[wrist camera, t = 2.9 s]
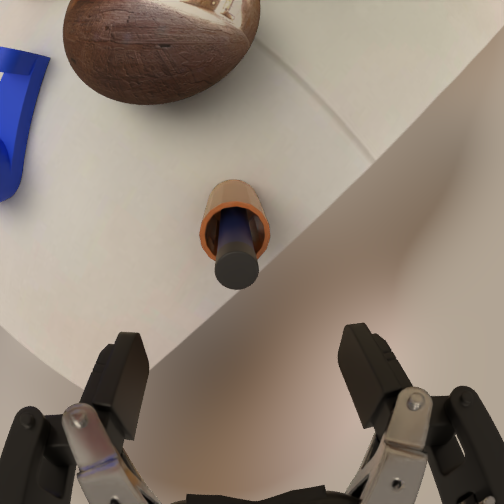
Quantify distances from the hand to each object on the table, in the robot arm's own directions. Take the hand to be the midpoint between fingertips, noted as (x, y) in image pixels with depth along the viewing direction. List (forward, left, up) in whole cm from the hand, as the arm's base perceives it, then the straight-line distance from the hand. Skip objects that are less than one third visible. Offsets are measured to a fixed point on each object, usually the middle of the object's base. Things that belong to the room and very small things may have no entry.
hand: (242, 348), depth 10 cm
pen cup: (0, 0, -21) cm, 21 cm away
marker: (0, 0, -20) cm, 20 cm away
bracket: (-25, -18, -21) cm, 37 cm away
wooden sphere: (-18, +4, -21) cm, 28 cm away
